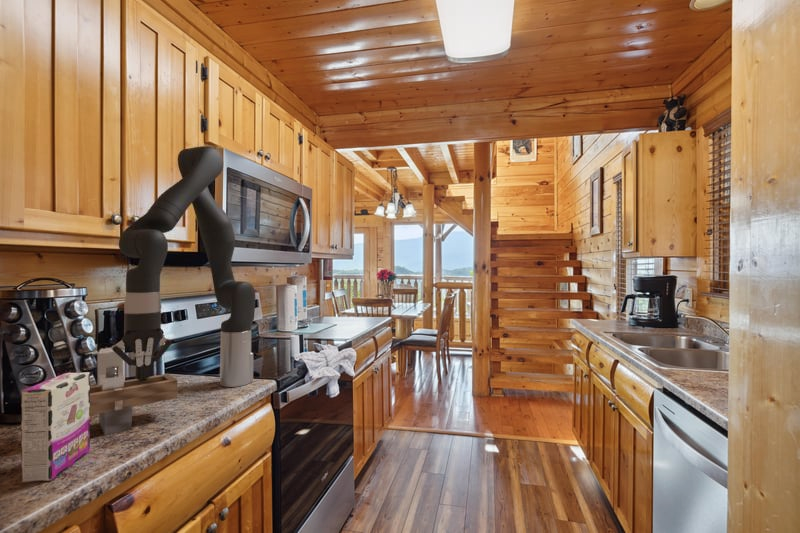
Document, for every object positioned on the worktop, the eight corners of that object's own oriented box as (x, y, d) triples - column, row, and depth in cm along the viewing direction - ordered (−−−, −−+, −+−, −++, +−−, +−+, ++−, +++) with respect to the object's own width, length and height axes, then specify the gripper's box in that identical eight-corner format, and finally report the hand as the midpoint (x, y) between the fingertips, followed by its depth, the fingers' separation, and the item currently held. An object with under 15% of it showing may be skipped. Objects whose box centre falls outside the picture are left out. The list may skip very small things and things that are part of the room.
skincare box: (124, 404, 105) (125, 350, 105) (95, 409, 101) (96, 352, 101) (125, 396, 112) (126, 344, 112) (99, 399, 108) (100, 347, 108)
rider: (120, 392, 93) (121, 364, 93) (123, 397, 90) (124, 367, 90) (99, 396, 90) (100, 366, 90) (102, 400, 88) (102, 370, 88)
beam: (167, 408, 103) (168, 372, 103) (177, 418, 96) (177, 380, 96) (45, 434, 86) (46, 392, 86) (47, 448, 79) (48, 402, 79)
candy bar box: (62, 453, 78) (64, 372, 78) (90, 451, 78) (92, 371, 79) (17, 484, 67) (19, 389, 67) (50, 482, 67) (52, 388, 67)
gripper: (169, 307, 102) (168, 372, 102) (107, 310, 93) (106, 382, 93) (177, 309, 97) (176, 378, 97) (112, 314, 88) (111, 390, 88)
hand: (142, 380), depth 95 cm, fingers closed
